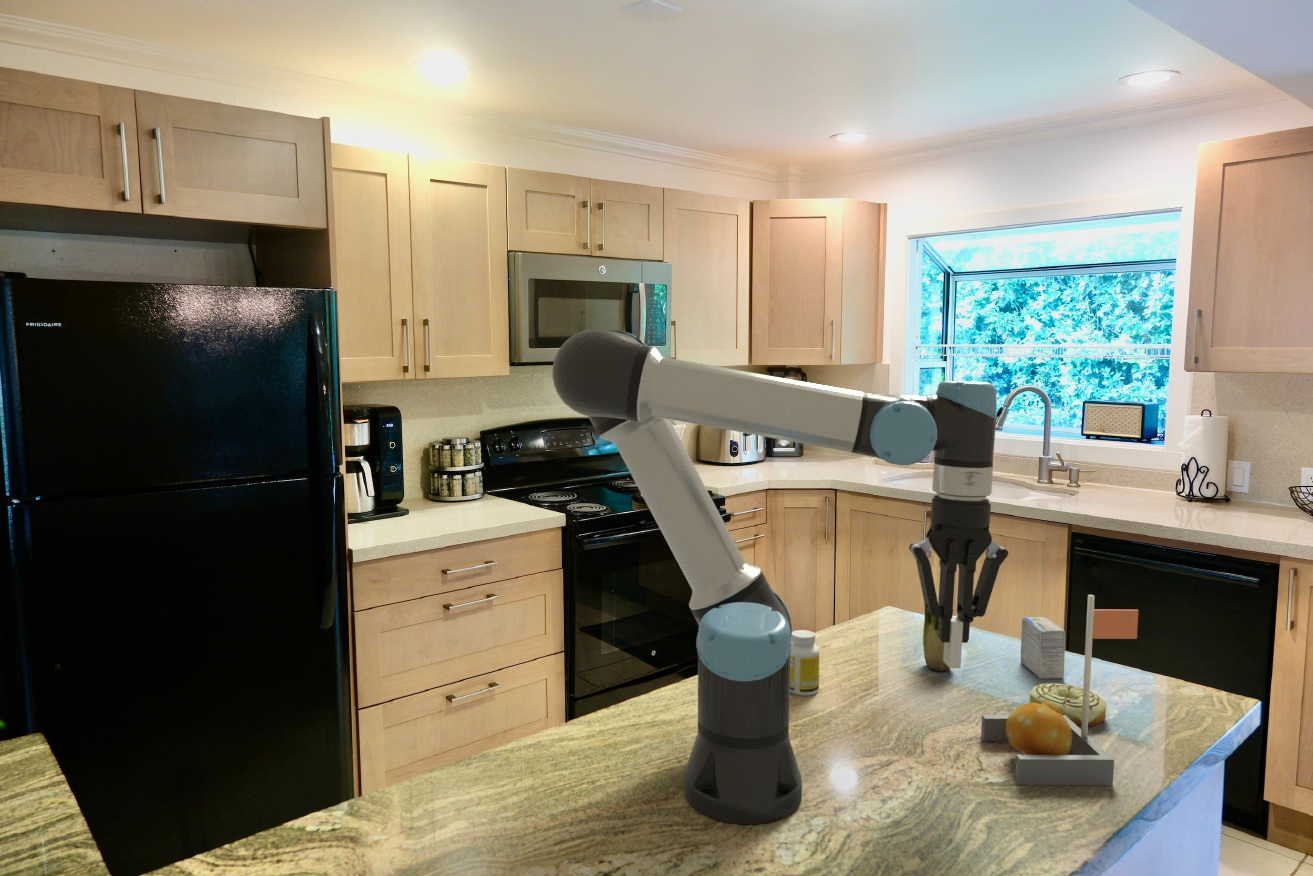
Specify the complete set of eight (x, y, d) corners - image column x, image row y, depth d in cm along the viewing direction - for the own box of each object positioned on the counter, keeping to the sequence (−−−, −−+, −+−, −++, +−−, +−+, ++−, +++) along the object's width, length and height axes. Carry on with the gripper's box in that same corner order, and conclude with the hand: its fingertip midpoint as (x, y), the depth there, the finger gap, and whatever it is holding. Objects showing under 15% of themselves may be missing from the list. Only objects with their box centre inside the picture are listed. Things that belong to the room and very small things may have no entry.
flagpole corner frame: (1019, 784, 109) (1026, 610, 107) (981, 737, 122) (987, 582, 120) (1157, 785, 109) (1168, 610, 106) (1104, 738, 122) (1112, 582, 120)
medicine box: (1064, 679, 144) (1066, 631, 143) (1038, 679, 144) (1040, 631, 143) (1044, 662, 152) (1046, 616, 151) (1019, 662, 152) (1021, 616, 151)
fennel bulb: (918, 663, 152) (920, 599, 151) (944, 661, 153) (946, 598, 151) (932, 675, 146) (934, 608, 145) (958, 673, 147) (961, 607, 146)
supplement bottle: (823, 688, 141) (824, 632, 140) (811, 699, 136) (812, 641, 135) (793, 681, 144) (794, 626, 143) (781, 692, 139) (781, 635, 138)
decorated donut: (1100, 736, 123) (1101, 712, 123) (1022, 718, 129) (1023, 695, 129) (1109, 711, 132) (1111, 688, 131) (1036, 696, 138) (1037, 674, 137)
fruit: (1043, 744, 120) (1045, 691, 119) (1084, 772, 112) (1087, 715, 112) (993, 751, 118) (995, 697, 118) (1031, 779, 111) (1034, 721, 110)
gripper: (921, 499, 108) (912, 674, 111) (1021, 501, 108) (1010, 676, 111) (905, 490, 116) (896, 653, 118) (998, 492, 116) (988, 655, 118)
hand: (951, 664), depth 115 cm, fingers closed
